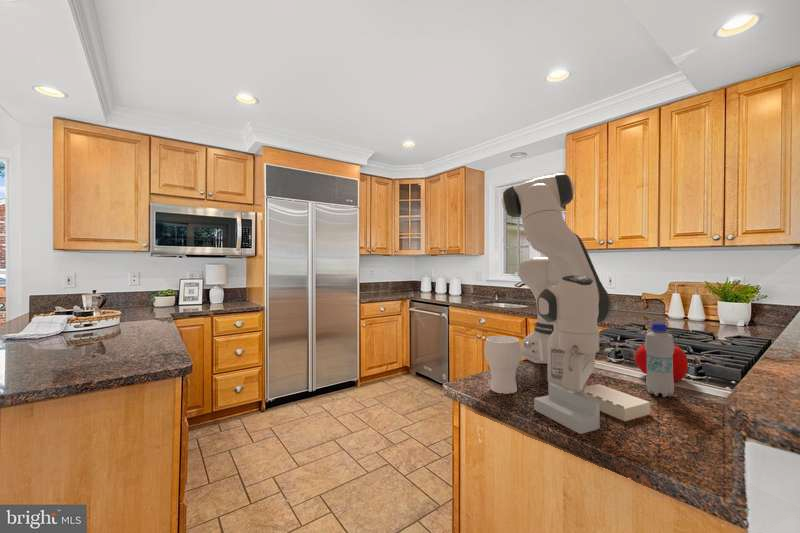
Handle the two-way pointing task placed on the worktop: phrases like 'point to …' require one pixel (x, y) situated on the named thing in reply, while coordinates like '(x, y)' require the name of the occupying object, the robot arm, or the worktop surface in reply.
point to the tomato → (678, 362)
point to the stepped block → (569, 409)
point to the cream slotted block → (618, 402)
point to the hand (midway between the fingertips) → (579, 398)
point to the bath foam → (555, 358)
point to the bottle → (659, 361)
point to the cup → (503, 362)
